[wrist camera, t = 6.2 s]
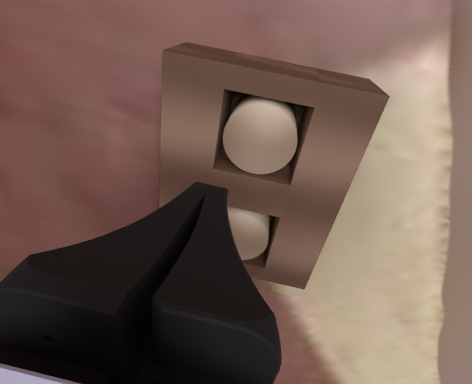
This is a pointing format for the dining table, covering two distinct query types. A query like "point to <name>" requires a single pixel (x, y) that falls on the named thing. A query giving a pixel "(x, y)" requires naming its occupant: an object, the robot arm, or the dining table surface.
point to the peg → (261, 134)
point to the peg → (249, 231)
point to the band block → (285, 179)
